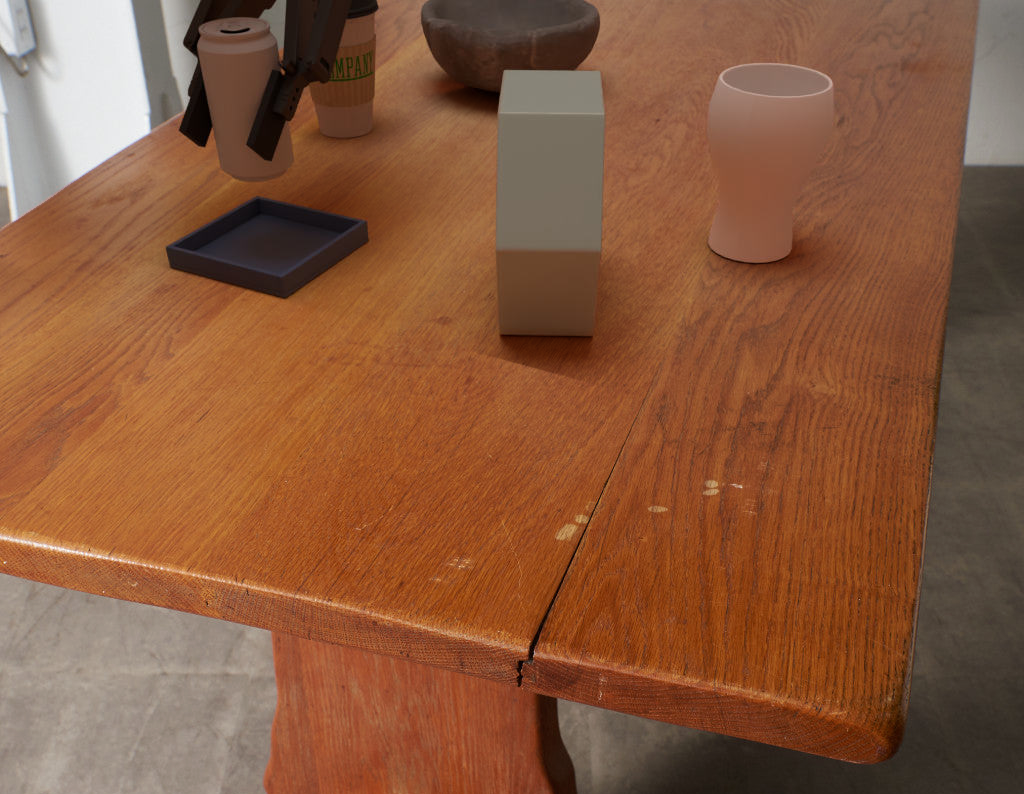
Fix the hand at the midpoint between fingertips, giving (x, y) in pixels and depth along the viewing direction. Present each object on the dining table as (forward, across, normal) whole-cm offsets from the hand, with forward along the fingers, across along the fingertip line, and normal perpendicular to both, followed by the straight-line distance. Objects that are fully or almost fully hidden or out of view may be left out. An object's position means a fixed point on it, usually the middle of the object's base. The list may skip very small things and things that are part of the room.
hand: (225, 145), depth 84 cm
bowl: (-33, +3, -49) cm, 59 cm away
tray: (+5, 0, -10) cm, 12 cm away
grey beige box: (+3, -27, -13) cm, 30 cm away
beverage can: (0, 0, -5) cm, 5 cm away
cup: (-10, -39, -26) cm, 48 cm away
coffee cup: (-16, +13, -32) cm, 39 cm away
